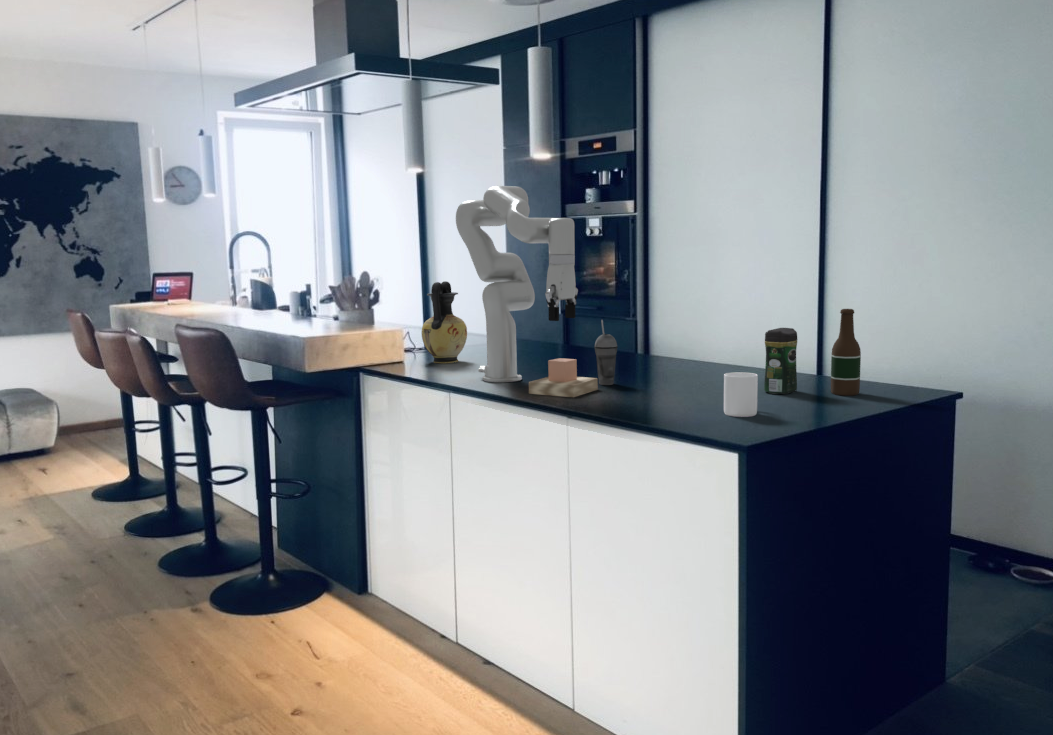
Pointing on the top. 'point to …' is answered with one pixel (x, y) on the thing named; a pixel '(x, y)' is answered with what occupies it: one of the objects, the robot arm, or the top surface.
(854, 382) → the beer bottle
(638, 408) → the top surface
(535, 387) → the maple block
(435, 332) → the amphora
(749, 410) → the cup
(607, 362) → the beverage cup
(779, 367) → the coffee jar
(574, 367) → the terracotta cube
